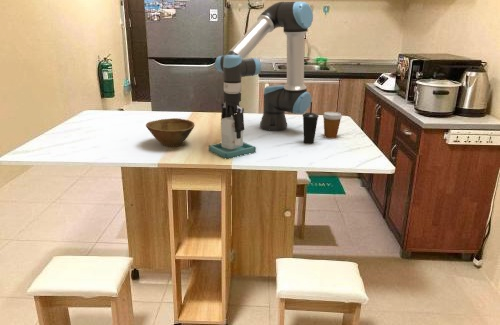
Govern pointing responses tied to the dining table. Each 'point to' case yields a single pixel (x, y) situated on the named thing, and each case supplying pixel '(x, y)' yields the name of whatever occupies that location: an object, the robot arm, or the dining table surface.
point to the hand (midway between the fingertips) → (232, 142)
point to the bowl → (170, 130)
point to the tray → (234, 152)
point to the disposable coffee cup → (331, 124)
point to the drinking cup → (309, 126)
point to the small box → (229, 133)
